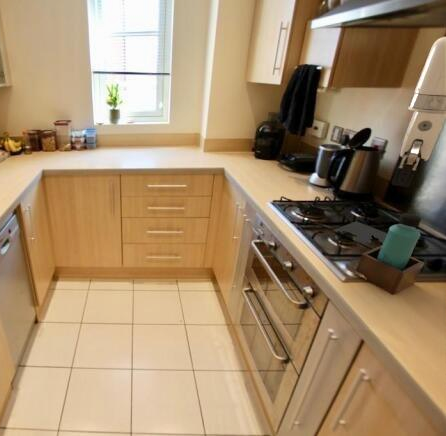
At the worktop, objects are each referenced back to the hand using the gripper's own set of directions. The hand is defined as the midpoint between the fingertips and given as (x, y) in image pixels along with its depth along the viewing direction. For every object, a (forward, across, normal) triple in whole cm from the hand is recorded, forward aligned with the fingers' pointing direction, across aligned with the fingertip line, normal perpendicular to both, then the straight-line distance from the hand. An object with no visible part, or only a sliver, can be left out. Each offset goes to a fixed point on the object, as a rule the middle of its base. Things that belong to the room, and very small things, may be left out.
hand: (401, 179), depth 74 cm
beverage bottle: (+31, +6, -5) cm, 31 cm away
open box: (+30, +6, -5) cm, 31 cm away
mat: (+30, +30, +2) cm, 43 cm away
